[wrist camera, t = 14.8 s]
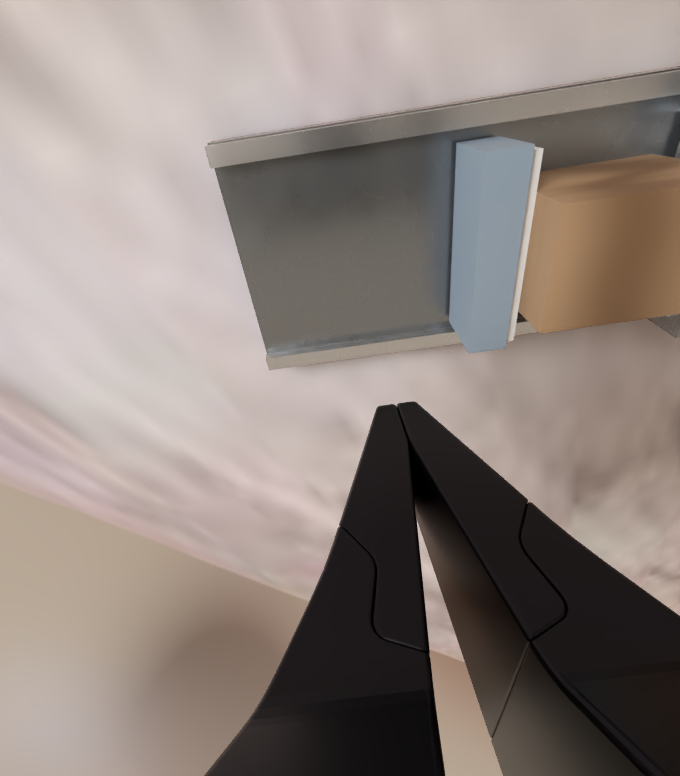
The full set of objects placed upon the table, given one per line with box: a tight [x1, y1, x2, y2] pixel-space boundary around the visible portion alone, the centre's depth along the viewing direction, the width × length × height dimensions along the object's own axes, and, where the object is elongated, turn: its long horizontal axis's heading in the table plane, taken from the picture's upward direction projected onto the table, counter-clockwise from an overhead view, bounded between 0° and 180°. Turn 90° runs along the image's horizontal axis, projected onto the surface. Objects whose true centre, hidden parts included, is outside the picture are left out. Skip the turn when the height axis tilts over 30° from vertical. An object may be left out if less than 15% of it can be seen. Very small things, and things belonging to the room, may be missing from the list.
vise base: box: [205, 66, 680, 370], centre depth 16 cm, size 20×10×4 cm, turn 98°
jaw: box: [449, 136, 544, 353], centre depth 16 cm, size 2×8×3 cm, turn 8°
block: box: [518, 154, 680, 333], centre depth 15 cm, size 6×4×5 cm
